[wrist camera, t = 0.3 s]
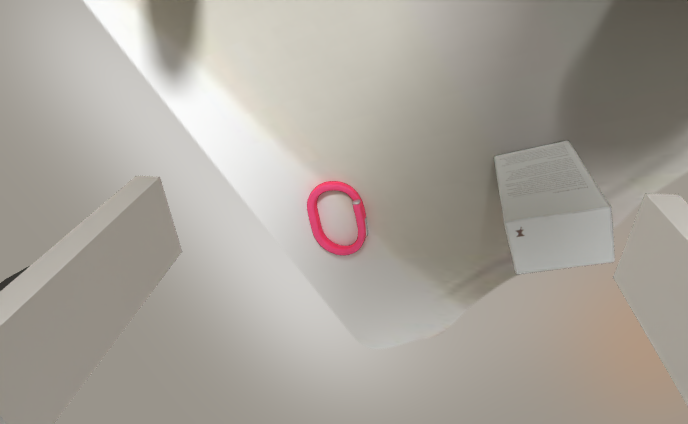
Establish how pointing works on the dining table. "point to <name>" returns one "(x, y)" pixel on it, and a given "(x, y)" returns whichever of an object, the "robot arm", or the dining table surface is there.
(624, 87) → the dining table surface
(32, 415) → the robot arm
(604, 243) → the skincare box
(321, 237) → the fitness band
